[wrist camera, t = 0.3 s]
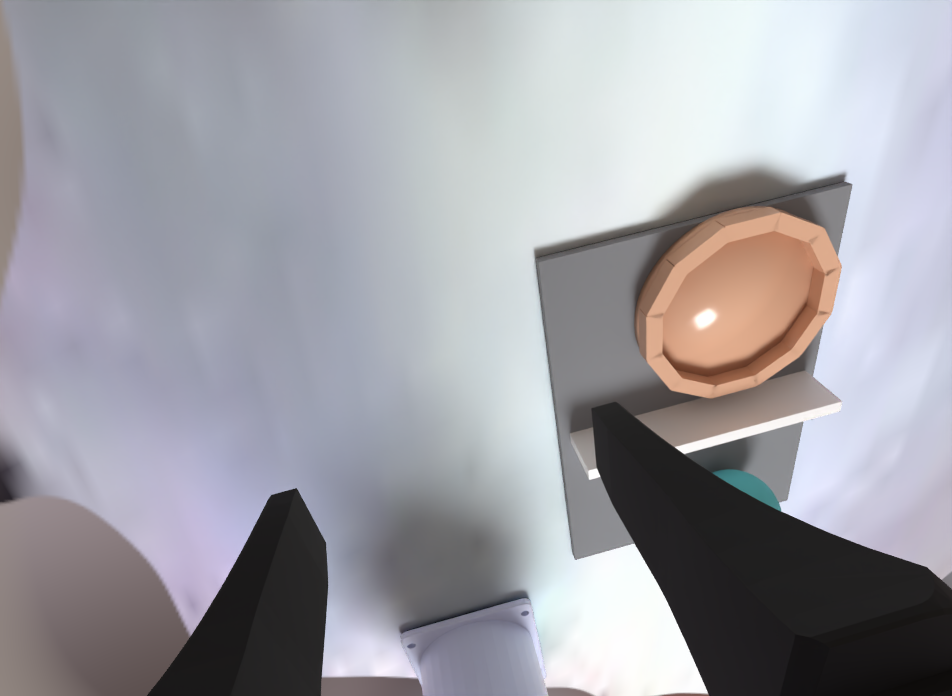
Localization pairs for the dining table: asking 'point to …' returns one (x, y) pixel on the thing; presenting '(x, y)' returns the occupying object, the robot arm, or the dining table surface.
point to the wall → (727, 416)
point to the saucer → (736, 300)
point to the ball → (749, 486)
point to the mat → (626, 371)
